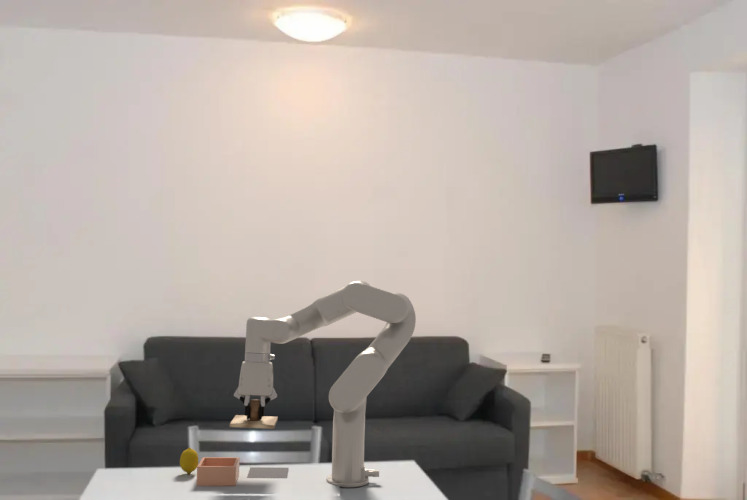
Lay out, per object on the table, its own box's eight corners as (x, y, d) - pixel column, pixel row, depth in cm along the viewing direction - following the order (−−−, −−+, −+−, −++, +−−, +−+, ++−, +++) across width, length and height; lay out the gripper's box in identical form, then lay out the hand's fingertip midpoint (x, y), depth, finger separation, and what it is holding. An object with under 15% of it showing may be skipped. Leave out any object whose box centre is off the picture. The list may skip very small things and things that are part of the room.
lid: (277, 419, 248) (278, 397, 248) (273, 428, 235) (275, 405, 235) (235, 418, 248) (236, 395, 248) (229, 427, 235) (230, 403, 235)
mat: (288, 469, 250) (288, 467, 250) (287, 480, 238) (287, 478, 238) (250, 469, 249) (250, 467, 249) (246, 479, 237) (246, 477, 237)
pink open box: (239, 477, 240) (239, 457, 240) (235, 487, 229) (235, 466, 229) (202, 477, 239) (202, 457, 239) (196, 487, 228) (197, 466, 228)
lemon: (193, 477, 239) (194, 450, 239) (176, 475, 240) (177, 449, 240) (201, 472, 244) (201, 446, 244) (184, 471, 245) (185, 445, 245)
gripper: (285, 357, 246) (282, 417, 245) (232, 355, 245) (229, 415, 245) (283, 360, 238) (280, 422, 238) (228, 358, 237) (225, 420, 237)
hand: (254, 418), depth 241 cm, fingers closed on lid, 3 cm apart
